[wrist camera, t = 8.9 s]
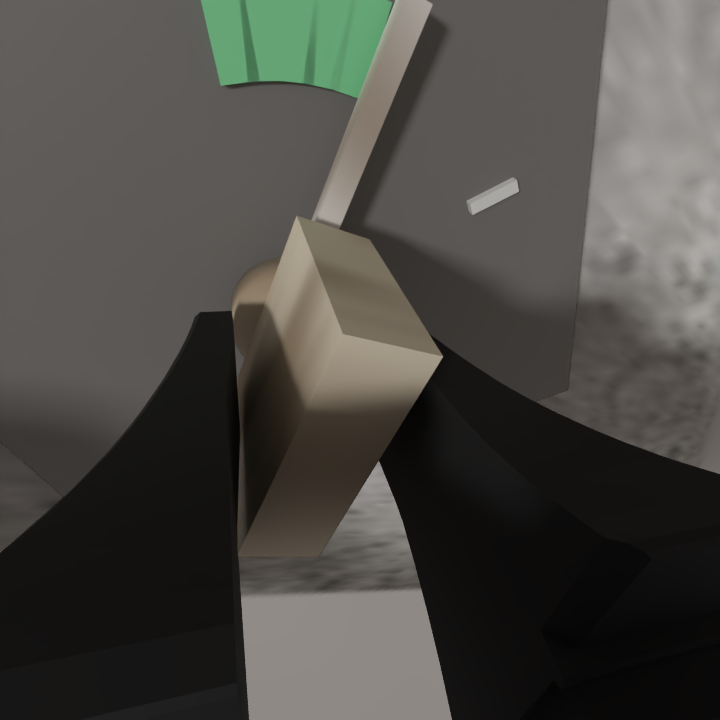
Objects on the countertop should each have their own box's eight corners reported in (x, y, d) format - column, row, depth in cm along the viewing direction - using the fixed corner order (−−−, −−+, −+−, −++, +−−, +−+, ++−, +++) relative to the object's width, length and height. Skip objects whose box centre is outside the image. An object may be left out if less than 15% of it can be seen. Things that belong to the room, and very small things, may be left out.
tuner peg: (302, 391, 13) (341, 557, 10) (206, 376, 12) (208, 557, 8) (467, 30, 9) (661, 74, 5) (341, -46, 8) (470, -60, 4)
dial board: (123, 521, 17) (119, 553, 16) (-349, 66, 8) (-425, 79, 7) (552, 372, 18) (571, 394, 17) (591, -201, 8) (637, -222, 8)
